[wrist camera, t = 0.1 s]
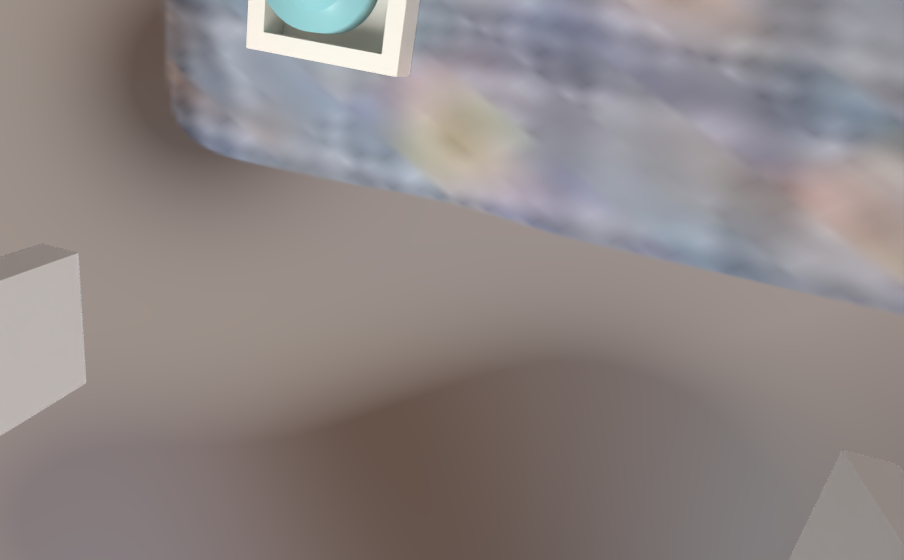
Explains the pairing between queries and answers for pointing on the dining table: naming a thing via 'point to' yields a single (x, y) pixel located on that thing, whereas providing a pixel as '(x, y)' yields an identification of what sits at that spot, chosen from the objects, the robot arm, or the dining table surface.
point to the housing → (343, 38)
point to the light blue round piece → (323, 14)
